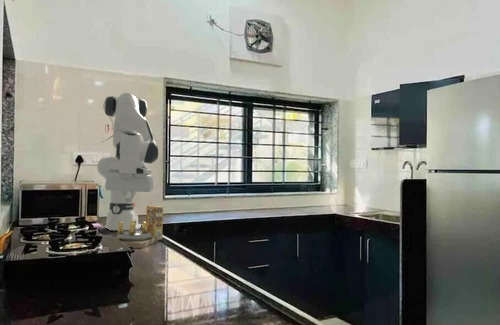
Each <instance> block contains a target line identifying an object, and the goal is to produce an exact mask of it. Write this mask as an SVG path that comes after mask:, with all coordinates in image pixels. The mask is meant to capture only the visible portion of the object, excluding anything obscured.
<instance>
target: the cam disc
mask: <svg viewBox="0 0 500 325" xmlns="http://www.w3.org/2000/svg"><path fill="white" fill-rule="evenodd" d="M141 222H142V223H141V224H142V227H141V230H135V228H136V220H132V221H131V223H130V229H129V230H126V231H124V230H123V222H118V230H117V237H118V238H119V239H121V240H124V241H141V240H148V239H151V233H150V232H147V222H146V221H141Z"/></svg>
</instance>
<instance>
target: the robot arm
mask: <svg viewBox="0 0 500 325" xmlns="http://www.w3.org/2000/svg"><path fill="white" fill-rule="evenodd" d="M102 106H103V108H102V110H103V111H104V114H105V115H106V116H108V117H111V118H113V117H114V122H113V129H112V130H113V132H112V133H113V134H112V146H113V148H114V149H115V150H116V151H115V156H107V157H106V156H105V157H102V158H100V159H99V160H98V163H97V166H96V168H97V171H98V174H99V175H100V176H102V177H103V178H104V179H105V184H104V186H105V187H104V188H105V190H106V191H110V203H109V205H108V206H109V211H108V212H107V214H106V223H105V225H104V226H103V228H104V227H105V228H107V229H109V230H108V231H118V222H123V231H129V229H130V223H131V221H132V220H136V228H135V231H138V230H139V229H140V228H142V227H141V225H142V223H139V216H138V214H137V213H136V212H135V210H134V207H135V206H136V203H135V202H133V201H134V200H133V199H134V198H135V195H136V194H137V192H141V193H150V192H151V193H152V192H153V190H154V180H153V176H152V175H151V174H152V169H150V168H148V164H153V163H154V162H156V161H157V160H158V158H159V147H158V144H157V143H156V140H155V137H154V136H153V135H154V134H153V132H152V129H151V126H150V124H149V121H148V120H147V118H146V116H147V113H148V112H149V111H148V110H149V109H148V104H147V101H146V100H145V99H144V98H136V96H134V94H132V93H129V92H125V93H122V94H120V95H119V96H107V97H106V98H105V100H104V101H103V105H102ZM141 137H142V138H141ZM141 139H143V140H141ZM105 228H104V229H105ZM107 229H106V230H107Z"/></svg>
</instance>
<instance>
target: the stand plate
mask: <svg viewBox="0 0 500 325" xmlns="http://www.w3.org/2000/svg"><path fill="white" fill-rule="evenodd" d="M158 241H159V240H158V236H151V239H148V240H141V241H124V240H122V242H123V243H125V244H126V245H127V246H129V247H133V248H132V249H143V248H146V247H148V246H151V245H152V244H155V243H156V242H158ZM154 242H155V243H154ZM129 247H128V248H129Z"/></svg>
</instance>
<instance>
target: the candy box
mask: <svg viewBox="0 0 500 325" xmlns="http://www.w3.org/2000/svg"><path fill="white" fill-rule="evenodd" d="M145 212H146V216H145V217H146V220H145V222H147V232H150V233H151V236H158V241H161V240H163V227H164V226H163V224H164V223H163V221H164V219H163V218H164V207H163V206H158V205H146V211H145Z"/></svg>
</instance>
